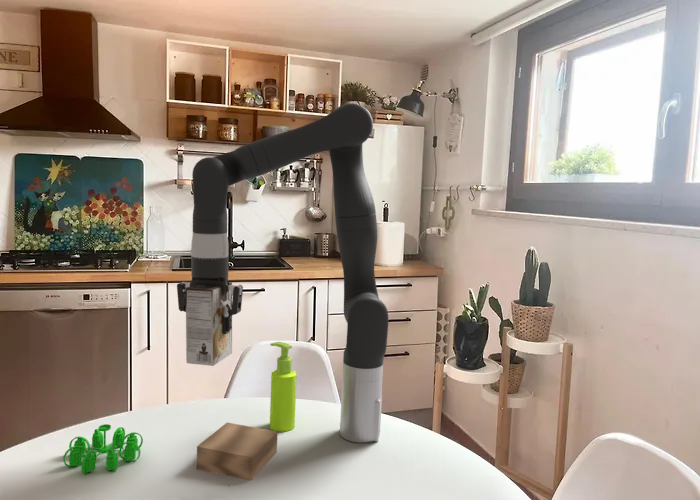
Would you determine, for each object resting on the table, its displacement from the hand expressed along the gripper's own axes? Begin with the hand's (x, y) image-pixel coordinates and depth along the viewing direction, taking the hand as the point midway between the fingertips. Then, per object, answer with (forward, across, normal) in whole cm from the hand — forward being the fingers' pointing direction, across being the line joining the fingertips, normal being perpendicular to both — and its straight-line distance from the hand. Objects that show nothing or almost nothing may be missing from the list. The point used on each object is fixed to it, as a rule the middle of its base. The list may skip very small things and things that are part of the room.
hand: (209, 332), depth 114 cm
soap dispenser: (+26, -12, -13) cm, 31 cm away
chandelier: (+25, +18, +10) cm, 33 cm away
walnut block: (+26, -8, +5) cm, 27 cm away
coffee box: (+6, 0, 0) cm, 6 cm away
